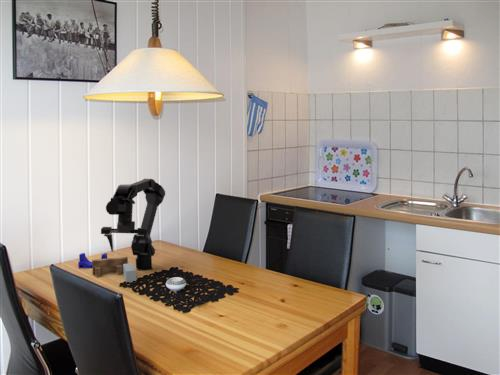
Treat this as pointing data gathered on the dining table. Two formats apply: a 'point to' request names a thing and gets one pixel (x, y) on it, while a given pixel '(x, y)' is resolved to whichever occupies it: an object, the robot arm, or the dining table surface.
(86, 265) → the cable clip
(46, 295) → the dining table surface
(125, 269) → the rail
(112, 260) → the brown wooden bridge block
